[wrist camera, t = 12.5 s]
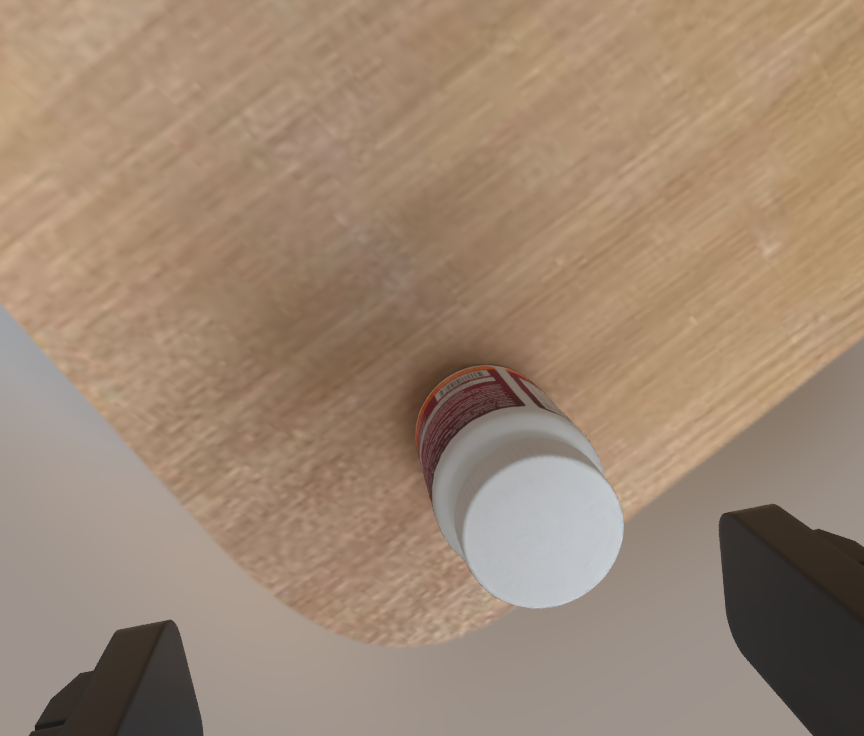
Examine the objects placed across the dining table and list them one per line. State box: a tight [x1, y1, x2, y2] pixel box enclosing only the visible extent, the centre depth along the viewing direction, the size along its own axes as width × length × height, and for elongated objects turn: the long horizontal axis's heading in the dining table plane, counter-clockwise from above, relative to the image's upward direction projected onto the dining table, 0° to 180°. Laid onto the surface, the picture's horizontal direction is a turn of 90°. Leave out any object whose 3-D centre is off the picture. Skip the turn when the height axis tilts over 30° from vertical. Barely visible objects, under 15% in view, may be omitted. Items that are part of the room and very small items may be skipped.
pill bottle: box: [415, 365, 624, 609], centre depth 30 cm, size 6×6×11 cm
